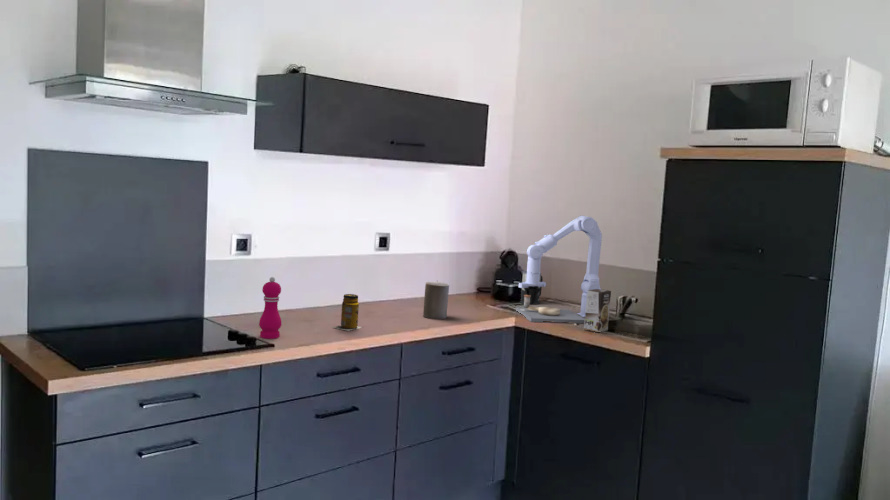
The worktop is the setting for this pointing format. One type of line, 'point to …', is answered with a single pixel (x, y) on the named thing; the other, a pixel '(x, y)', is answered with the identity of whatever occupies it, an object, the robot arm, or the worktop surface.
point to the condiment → (349, 313)
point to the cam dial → (540, 309)
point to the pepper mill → (270, 311)
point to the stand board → (551, 316)
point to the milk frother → (525, 292)
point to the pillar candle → (436, 300)
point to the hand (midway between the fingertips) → (530, 303)
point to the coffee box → (597, 309)
